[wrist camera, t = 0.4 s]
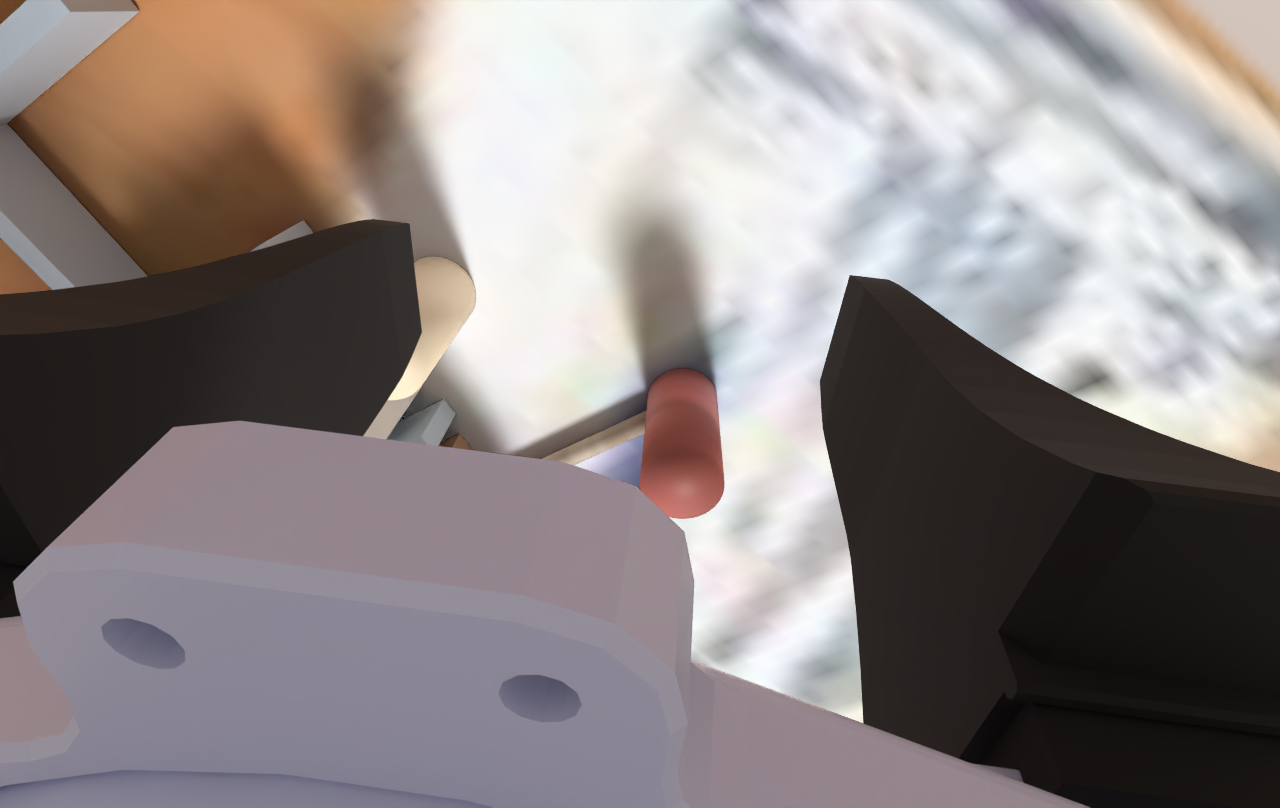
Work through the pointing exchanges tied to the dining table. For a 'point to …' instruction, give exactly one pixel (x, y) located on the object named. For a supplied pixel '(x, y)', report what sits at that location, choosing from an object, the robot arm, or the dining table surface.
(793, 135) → the dining table surface
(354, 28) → the dining table surface
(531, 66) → the dining table surface
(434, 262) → the white block with peg
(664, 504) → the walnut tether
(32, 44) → the lane rack
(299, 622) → the robot arm
